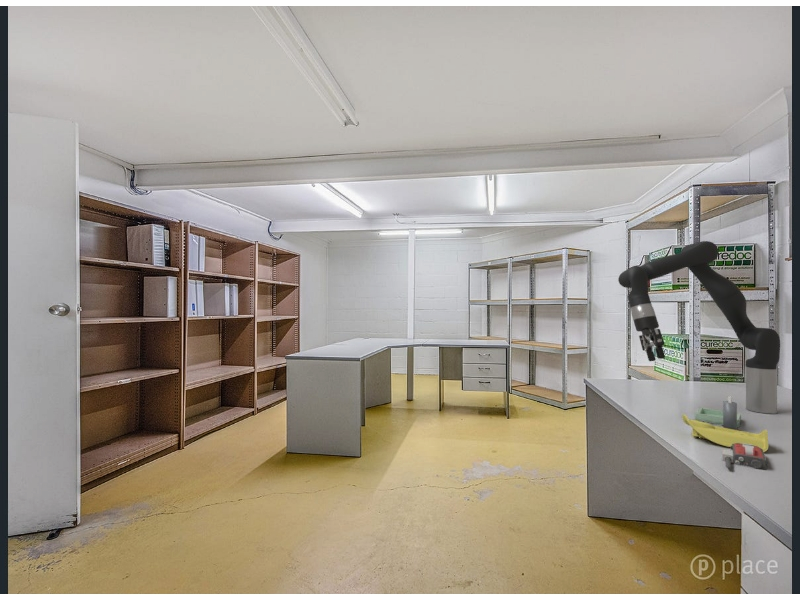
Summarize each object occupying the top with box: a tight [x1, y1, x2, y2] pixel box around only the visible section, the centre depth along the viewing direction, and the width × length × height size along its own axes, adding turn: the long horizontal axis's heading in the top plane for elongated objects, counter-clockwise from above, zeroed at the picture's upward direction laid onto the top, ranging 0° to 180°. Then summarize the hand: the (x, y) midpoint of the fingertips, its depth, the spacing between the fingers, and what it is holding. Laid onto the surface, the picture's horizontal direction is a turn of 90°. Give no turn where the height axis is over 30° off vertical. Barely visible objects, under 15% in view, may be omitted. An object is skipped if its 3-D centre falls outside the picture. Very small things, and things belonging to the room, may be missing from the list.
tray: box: [694, 407, 742, 429], centre depth 143 cm, size 12×12×3 cm
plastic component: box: [681, 414, 769, 453], centre depth 120 cm, size 20×7×10 cm
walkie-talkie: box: [722, 443, 768, 470], centre depth 104 cm, size 9×4×20 cm
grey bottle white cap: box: [722, 395, 738, 430], centre depth 133 cm, size 4×4×11 cm
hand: (656, 359), depth 144 cm, fingers open, 8 cm apart
